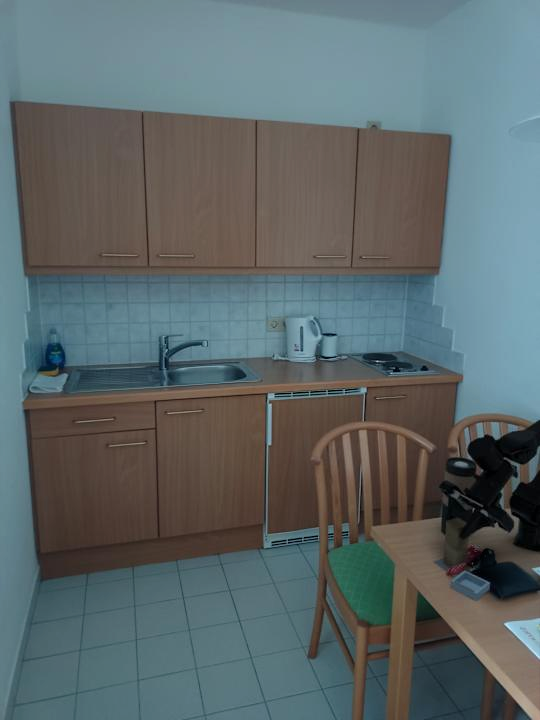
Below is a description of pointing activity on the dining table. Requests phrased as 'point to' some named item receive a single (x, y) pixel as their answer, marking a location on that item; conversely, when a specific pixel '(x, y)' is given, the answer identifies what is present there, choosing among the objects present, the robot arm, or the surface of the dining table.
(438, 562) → the mat
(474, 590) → the socket block
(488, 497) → the robot arm
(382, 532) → the dining table surface
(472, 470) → the travel mug
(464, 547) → the olive tall block
